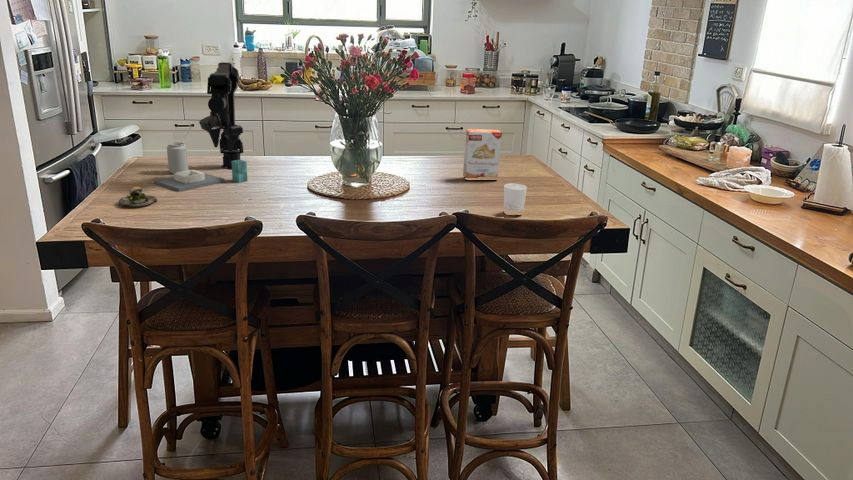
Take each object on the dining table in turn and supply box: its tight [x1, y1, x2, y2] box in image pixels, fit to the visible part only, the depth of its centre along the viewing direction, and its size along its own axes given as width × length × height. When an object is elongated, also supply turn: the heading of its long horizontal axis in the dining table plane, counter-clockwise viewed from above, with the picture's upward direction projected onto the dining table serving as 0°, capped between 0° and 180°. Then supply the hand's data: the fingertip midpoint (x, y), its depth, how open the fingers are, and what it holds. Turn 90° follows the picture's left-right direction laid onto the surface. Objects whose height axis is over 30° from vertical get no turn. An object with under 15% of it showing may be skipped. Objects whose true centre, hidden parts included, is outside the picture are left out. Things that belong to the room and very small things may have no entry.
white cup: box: [503, 183, 528, 211], centre depth 233 cm, size 8×8×10 cm
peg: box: [231, 159, 248, 184], centre depth 258 cm, size 4×4×8 cm
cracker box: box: [462, 128, 503, 178], centre depth 275 cm, size 14×6×21 cm, turn 99°
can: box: [166, 141, 189, 175], centre depth 265 cm, size 8×8×12 cm
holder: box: [153, 169, 226, 193], centre depth 253 cm, size 20×16×4 cm
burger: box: [118, 183, 158, 209], centre depth 226 cm, size 12×12×8 cm
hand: (223, 149), depth 255 cm, fingers open, 9 cm apart
